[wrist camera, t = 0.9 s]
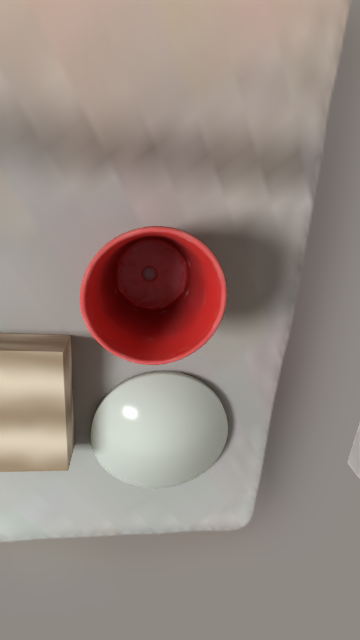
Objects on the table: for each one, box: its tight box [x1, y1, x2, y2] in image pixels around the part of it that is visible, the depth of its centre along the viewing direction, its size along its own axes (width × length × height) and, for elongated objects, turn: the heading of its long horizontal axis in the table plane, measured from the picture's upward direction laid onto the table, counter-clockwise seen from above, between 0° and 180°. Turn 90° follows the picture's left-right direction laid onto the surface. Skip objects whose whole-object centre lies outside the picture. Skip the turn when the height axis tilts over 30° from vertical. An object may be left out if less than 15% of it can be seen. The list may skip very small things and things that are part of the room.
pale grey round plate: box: [91, 371, 228, 488], centre depth 41 cm, size 16×16×1 cm
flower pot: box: [80, 226, 227, 365], centre depth 30 cm, size 11×11×10 cm
